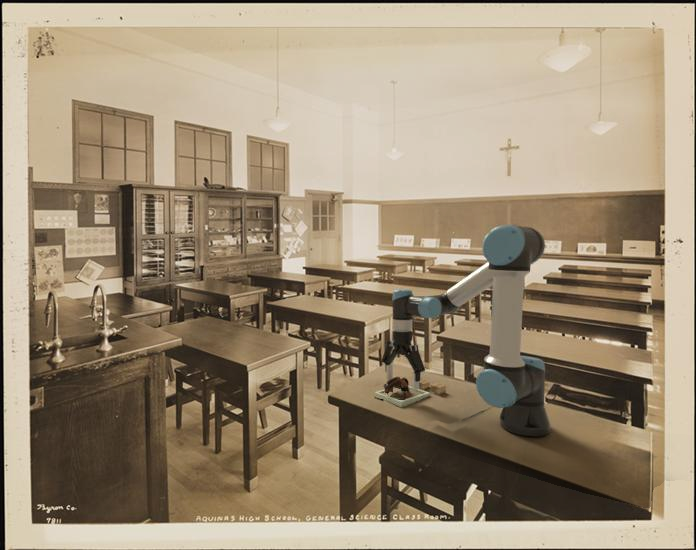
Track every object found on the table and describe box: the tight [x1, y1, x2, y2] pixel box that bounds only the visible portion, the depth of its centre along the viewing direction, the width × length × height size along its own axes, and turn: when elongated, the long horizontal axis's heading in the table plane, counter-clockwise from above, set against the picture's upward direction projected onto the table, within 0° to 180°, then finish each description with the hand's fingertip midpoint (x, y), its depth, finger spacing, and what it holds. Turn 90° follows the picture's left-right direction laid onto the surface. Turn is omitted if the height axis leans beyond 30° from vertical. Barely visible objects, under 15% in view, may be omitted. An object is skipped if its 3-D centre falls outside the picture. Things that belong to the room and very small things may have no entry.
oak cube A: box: [430, 383, 447, 396], centre depth 159 cm, size 4×4×4 cm
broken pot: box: [383, 376, 412, 399], centre depth 156 cm, size 12×9×8 cm
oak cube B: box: [419, 379, 431, 390], centre depth 163 cm, size 4×4×4 cm
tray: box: [373, 385, 431, 408], centre depth 156 cm, size 14×16×2 cm
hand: (402, 385), depth 156 cm, fingers open, 13 cm apart
